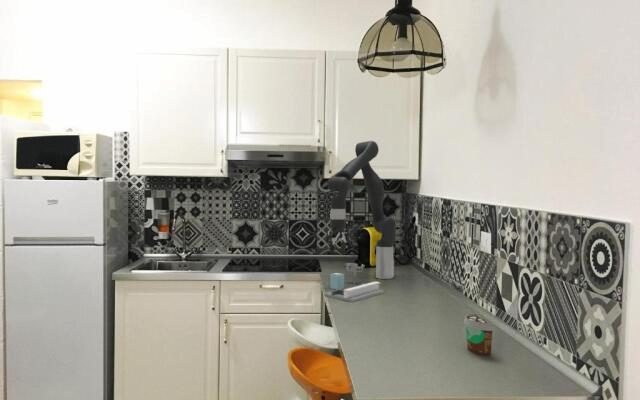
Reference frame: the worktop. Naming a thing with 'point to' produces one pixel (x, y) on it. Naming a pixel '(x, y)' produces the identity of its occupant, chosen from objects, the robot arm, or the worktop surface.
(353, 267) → the mechanical component
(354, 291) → the rail mount
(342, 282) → the block
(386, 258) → the robot arm
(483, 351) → the food container
